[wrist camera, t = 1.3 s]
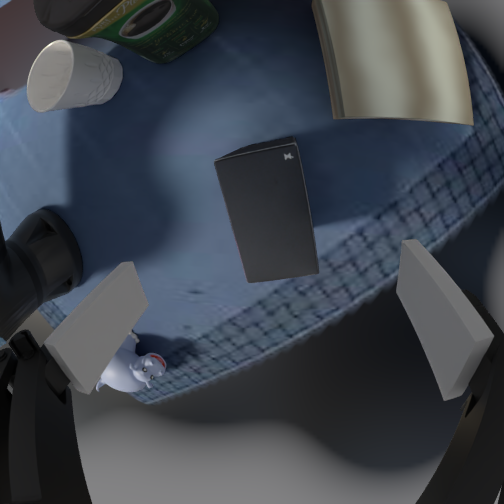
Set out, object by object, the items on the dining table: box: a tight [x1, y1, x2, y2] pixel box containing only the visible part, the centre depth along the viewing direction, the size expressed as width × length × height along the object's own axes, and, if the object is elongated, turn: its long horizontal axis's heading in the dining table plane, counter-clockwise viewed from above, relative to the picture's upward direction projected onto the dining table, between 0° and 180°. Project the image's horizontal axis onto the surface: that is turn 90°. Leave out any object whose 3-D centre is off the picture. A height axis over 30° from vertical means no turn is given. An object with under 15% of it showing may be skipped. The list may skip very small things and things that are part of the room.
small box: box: [214, 136, 319, 283], centre depth 24 cm, size 11×6×10 cm, turn 13°
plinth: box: [312, 0, 474, 125], centre depth 18 cm, size 14×14×6 cm
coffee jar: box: [34, 0, 219, 64], centre depth 13 cm, size 10×8×19 cm
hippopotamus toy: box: [96, 330, 166, 392], centre depth 40 cm, size 11×15×10 cm
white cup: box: [27, 40, 123, 113], centre depth 20 cm, size 8×8×10 cm
